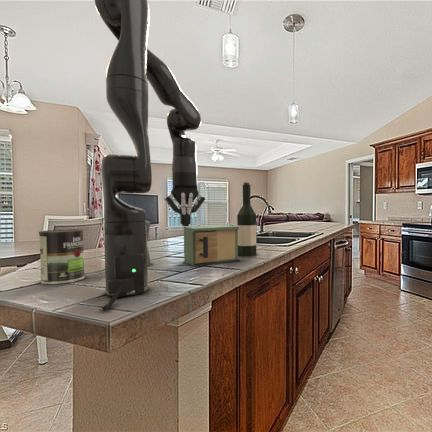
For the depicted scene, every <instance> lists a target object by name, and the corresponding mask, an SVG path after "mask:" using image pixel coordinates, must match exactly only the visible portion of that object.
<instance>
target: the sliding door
mask: <svg viewBox="0 0 432 432" xmlns="http://www.w3.org/2000/svg"><path fill="white" fill-rule="evenodd" d="M213 261H217V231H213V232H196V233H195V263H205V262H213Z"/></svg>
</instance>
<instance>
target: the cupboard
mask: <svg viewBox="0 0 432 432" xmlns="http://www.w3.org/2000/svg"><path fill="white" fill-rule="evenodd" d="M238 229H239V226H237V225H232V224H214V225H194V226H193V225H192V226H183V262H184V263H185V264H187V265H189V266H192V267H203V266H204V267H205V266H211V265H220V264H221V265H222V264H228V263H237V262H240V259H239V256H238ZM213 231H217V261H213V262H205V263H195V233H196V232H213Z"/></svg>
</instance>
